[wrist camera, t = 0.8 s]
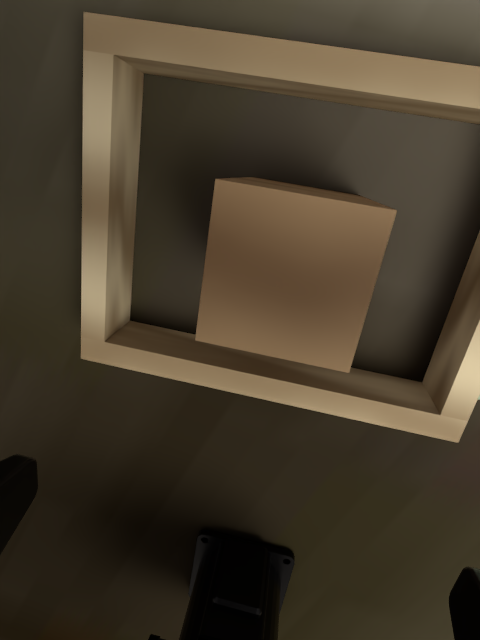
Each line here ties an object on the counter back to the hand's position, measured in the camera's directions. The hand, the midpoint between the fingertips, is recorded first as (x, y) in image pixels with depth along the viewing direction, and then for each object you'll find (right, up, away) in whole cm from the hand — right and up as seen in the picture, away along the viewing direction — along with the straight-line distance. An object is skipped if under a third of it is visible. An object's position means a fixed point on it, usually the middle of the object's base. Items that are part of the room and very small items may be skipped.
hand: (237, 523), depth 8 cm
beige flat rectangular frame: (+3, +8, +11) cm, 14 cm away
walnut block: (+3, +8, +11) cm, 14 cm away
